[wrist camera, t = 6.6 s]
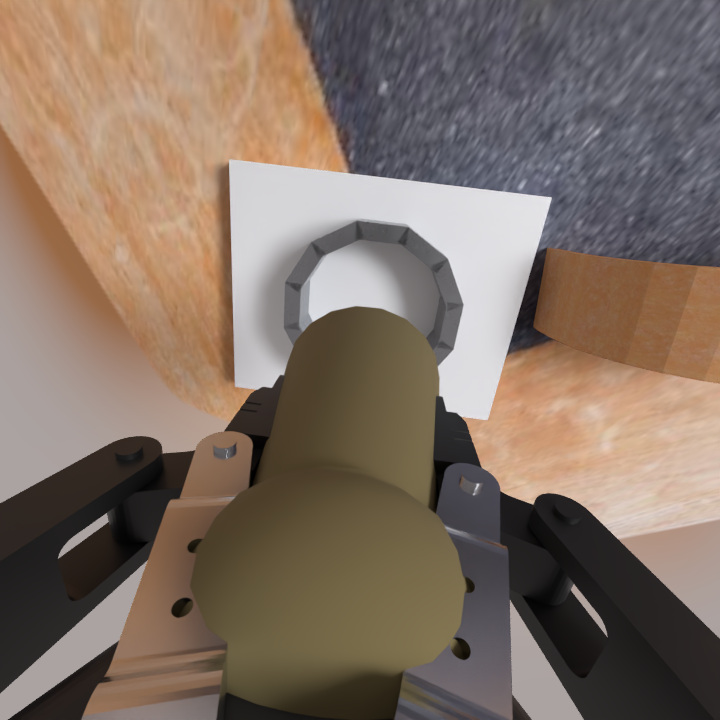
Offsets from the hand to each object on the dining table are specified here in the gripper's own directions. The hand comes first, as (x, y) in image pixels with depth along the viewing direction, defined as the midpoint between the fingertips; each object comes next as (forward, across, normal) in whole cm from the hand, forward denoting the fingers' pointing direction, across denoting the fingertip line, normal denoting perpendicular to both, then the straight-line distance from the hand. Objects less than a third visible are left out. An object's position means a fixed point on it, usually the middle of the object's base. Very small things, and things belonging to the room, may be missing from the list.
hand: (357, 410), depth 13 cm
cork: (+2, 0, 0) cm, 2 cm away
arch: (+17, -21, -3) cm, 27 cm away
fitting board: (+16, 0, 0) cm, 16 cm away
